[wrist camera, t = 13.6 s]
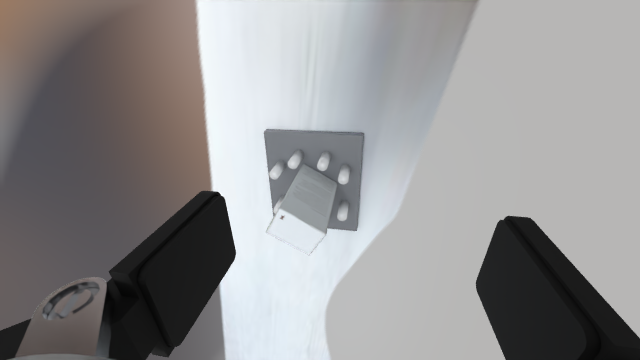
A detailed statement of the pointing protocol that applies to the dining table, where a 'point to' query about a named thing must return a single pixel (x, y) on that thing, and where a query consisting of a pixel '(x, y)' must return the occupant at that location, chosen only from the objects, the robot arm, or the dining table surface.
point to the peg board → (318, 167)
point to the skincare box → (304, 211)
